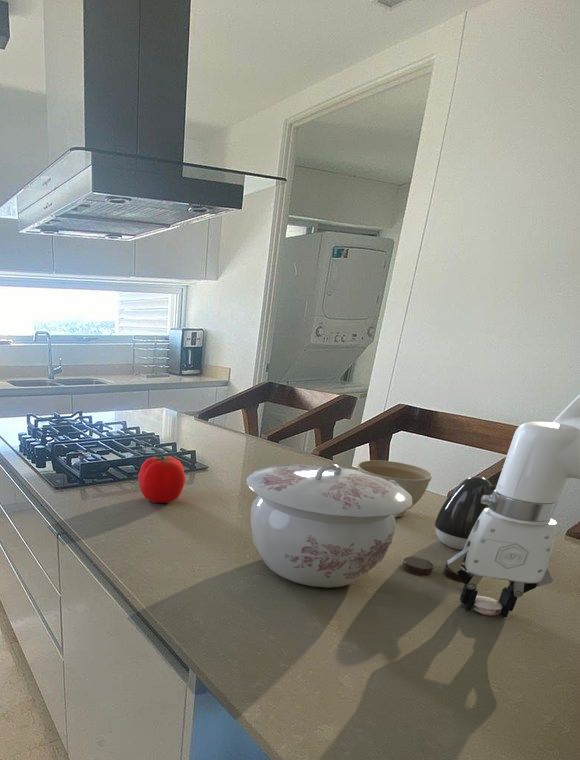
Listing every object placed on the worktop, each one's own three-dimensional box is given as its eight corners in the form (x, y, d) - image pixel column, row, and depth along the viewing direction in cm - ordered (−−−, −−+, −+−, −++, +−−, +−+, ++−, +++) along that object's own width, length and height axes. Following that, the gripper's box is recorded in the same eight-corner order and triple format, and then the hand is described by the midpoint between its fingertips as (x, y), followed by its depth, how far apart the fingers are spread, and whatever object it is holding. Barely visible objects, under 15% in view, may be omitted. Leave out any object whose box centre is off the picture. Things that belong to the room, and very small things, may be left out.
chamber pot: (223, 588, 85) (236, 475, 77) (248, 531, 109) (260, 439, 100) (400, 624, 76) (437, 500, 68) (386, 553, 100) (412, 454, 91)
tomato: (127, 501, 125) (128, 457, 120) (155, 488, 135) (156, 447, 130) (168, 511, 118) (170, 466, 114) (194, 497, 129) (197, 454, 124)
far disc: (429, 566, 95) (431, 559, 94) (433, 577, 90) (435, 570, 90) (400, 561, 96) (402, 554, 96) (403, 572, 92) (405, 565, 91)
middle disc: (470, 572, 92) (472, 565, 92) (477, 585, 88) (479, 577, 88) (440, 568, 94) (442, 561, 93) (445, 579, 90) (448, 572, 89)
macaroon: (479, 618, 78) (484, 605, 77) (458, 602, 83) (463, 589, 82) (505, 618, 78) (510, 605, 77) (483, 601, 83) (487, 589, 82)
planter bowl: (394, 528, 112) (406, 483, 107) (335, 506, 124) (344, 465, 120) (434, 516, 119) (446, 473, 115) (374, 496, 132) (384, 457, 127)
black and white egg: (493, 559, 98) (520, 487, 92) (435, 551, 101) (457, 481, 95) (478, 539, 107) (501, 472, 100) (425, 532, 110) (444, 467, 103)
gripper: (462, 507, 72) (430, 611, 80) (603, 524, 67) (553, 633, 75) (451, 492, 79) (422, 589, 86) (579, 506, 73) (536, 608, 81)
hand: (483, 608), depth 80 cm, fingers closed on macaroon, 4 cm apart
